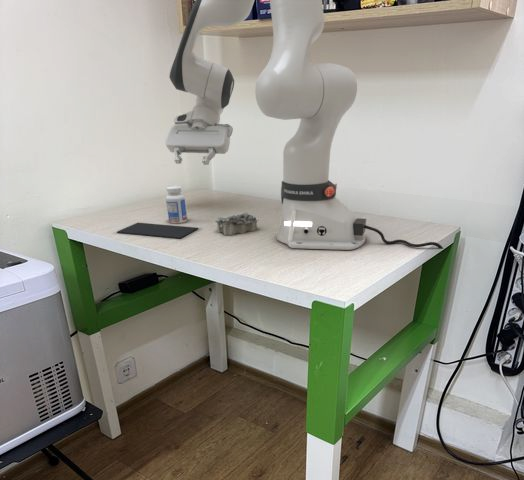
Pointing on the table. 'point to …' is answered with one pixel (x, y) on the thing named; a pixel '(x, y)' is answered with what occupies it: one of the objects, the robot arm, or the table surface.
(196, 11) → the robot arm
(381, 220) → the table surface
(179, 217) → the pill bottle
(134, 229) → the mat
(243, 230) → the egg carton
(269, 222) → the table surface
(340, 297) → the table surface
